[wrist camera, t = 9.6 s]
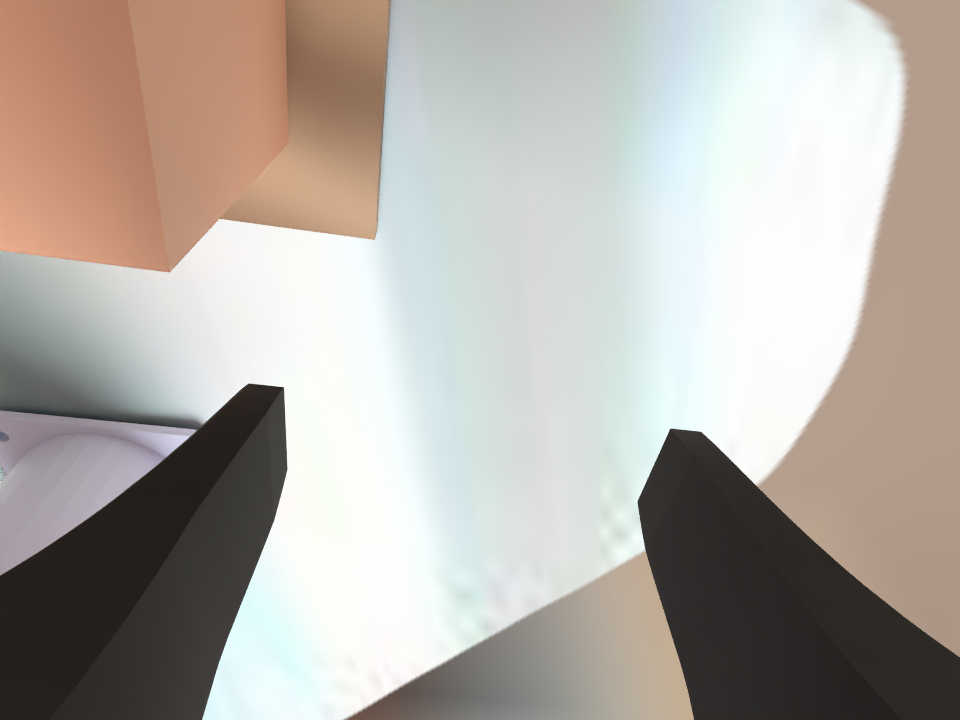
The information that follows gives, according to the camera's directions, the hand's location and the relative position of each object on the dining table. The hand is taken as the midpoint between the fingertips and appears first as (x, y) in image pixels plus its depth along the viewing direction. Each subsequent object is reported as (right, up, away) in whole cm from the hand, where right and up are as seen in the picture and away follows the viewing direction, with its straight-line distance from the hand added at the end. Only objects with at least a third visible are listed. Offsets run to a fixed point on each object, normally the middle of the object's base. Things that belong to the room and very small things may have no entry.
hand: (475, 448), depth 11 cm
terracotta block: (-7, +10, +4) cm, 13 cm away
